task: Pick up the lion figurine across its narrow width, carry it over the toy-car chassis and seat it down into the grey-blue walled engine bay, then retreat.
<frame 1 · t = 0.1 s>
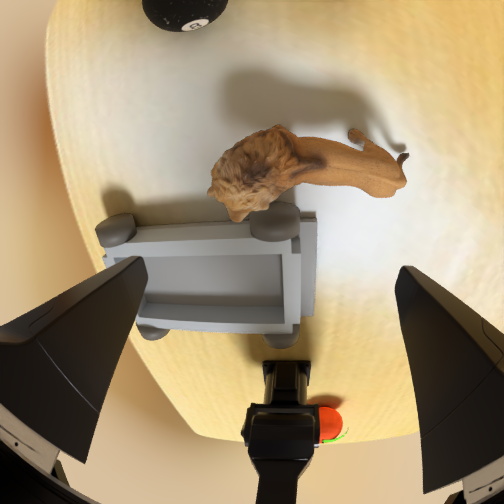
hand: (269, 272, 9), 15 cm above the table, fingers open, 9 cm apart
lion figurine: (316, 155, 21), on the table
billiard ball: (198, 7, 14), on the table
chassis: (205, 271, 28), on the table
clementine: (325, 407, 42), on the table
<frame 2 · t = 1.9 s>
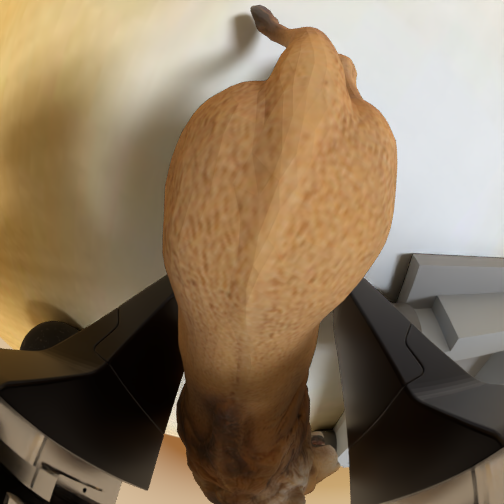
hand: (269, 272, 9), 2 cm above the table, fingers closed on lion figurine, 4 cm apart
lion figurine: (281, 231, 10), on the table, touching gripper
billiard ball: (78, 333, 16), on the table
chassis: (423, 387, 15), on the table
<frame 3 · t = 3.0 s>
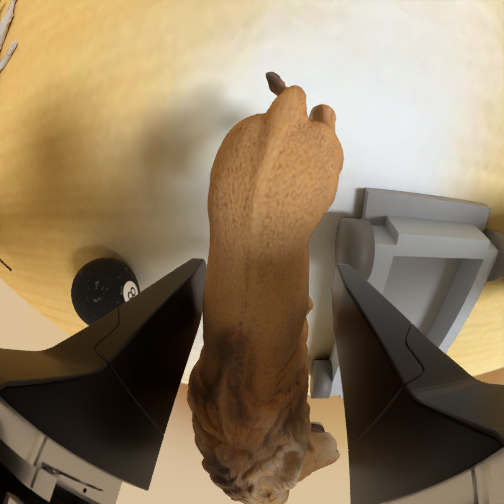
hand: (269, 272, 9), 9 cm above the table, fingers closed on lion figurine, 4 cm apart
lion figurine: (288, 249, 12), point 6 cm above the table, touching gripper
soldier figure: (4, 43, 10), on the table
billiard ball: (122, 272, 23), on the table
chassis: (398, 312, 21), on the table
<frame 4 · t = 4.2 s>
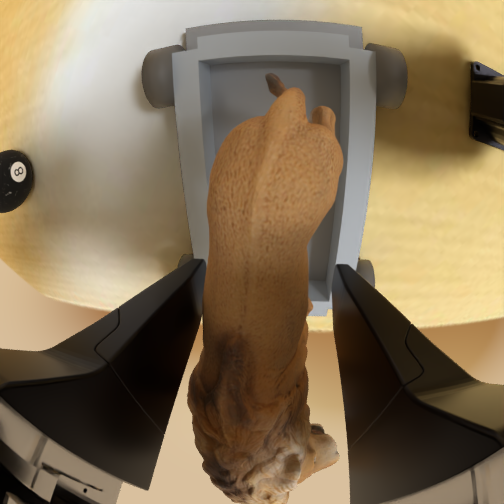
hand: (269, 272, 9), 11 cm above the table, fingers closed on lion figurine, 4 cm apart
lion figurine: (288, 251, 12), point 8 cm above the table, touching gripper
billiard ball: (27, 170, 20), on the table
chassis: (277, 178, 18), on the table
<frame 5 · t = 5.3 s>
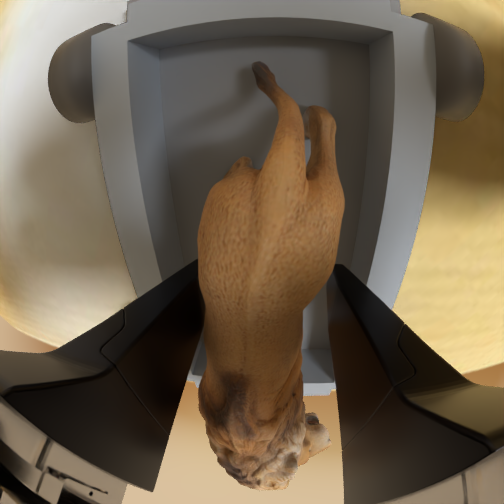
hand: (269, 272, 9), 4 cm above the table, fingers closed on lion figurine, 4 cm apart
lion figurine: (282, 248, 12), point 1 cm above the table, touching chassis, gripper
chassis: (266, 220, 12), on the table
when the fingers open (4 cm above the table, at t = 5.5 s): lion figurine stays where it is, resting on chassis.
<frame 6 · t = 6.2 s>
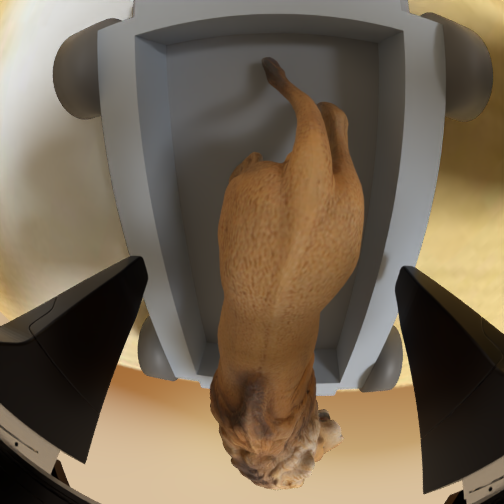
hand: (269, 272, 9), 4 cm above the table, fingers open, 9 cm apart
lion figurine: (290, 244, 12), point 1 cm above the table, touching chassis
chassis: (274, 219, 12), on the table
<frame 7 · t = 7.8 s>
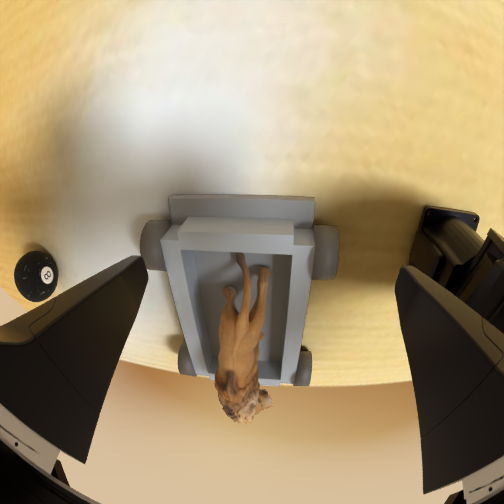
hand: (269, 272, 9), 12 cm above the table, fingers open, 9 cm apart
lion figurine: (251, 314, 26), point 1 cm above the table, touching chassis
billiard ball: (50, 261, 27), on the table
chassis: (244, 304, 26), on the table
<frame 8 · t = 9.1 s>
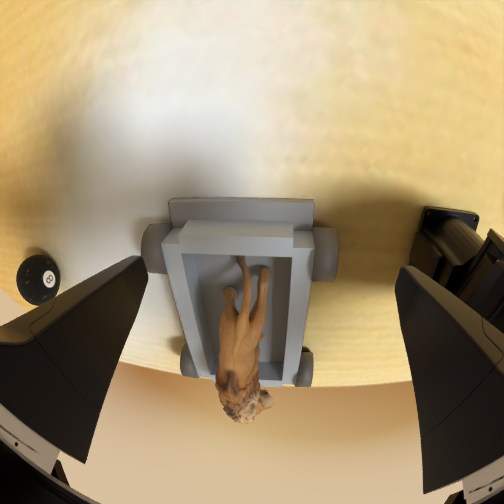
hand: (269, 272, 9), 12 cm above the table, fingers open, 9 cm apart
lion figurine: (251, 315, 26), point 1 cm above the table, touching chassis
billiard ball: (52, 265, 28), on the table
chassis: (246, 306, 26), on the table
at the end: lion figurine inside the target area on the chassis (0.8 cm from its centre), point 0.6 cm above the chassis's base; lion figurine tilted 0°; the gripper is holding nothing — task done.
